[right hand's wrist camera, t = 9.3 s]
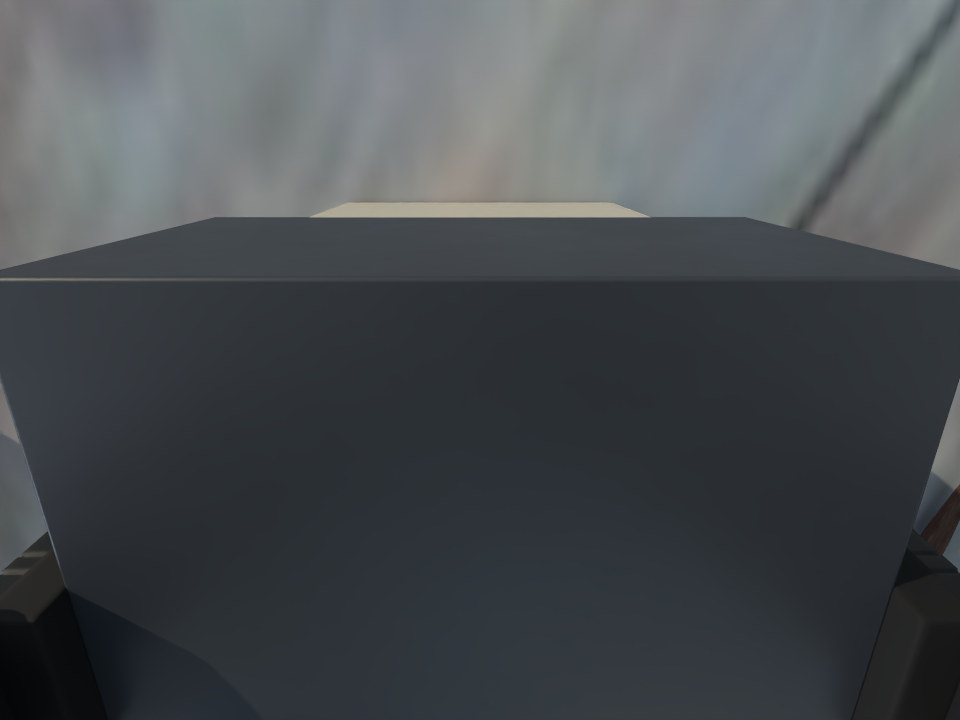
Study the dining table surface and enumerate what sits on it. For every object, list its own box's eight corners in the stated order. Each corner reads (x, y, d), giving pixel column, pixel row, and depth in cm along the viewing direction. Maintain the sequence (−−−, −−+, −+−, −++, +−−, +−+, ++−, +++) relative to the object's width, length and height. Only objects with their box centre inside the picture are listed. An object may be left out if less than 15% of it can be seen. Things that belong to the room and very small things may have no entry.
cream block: (613, 202, 21) (718, 241, 12) (565, 807, 33) (600, 1068, 24) (346, 202, 21) (240, 241, 12) (394, 807, 33) (359, 1068, 24)
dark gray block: (746, 217, 12) (994, 277, 6) (681, 630, 15) (796, 903, 10) (213, 217, 12) (-36, 277, 6) (278, 630, 15) (163, 903, 10)
